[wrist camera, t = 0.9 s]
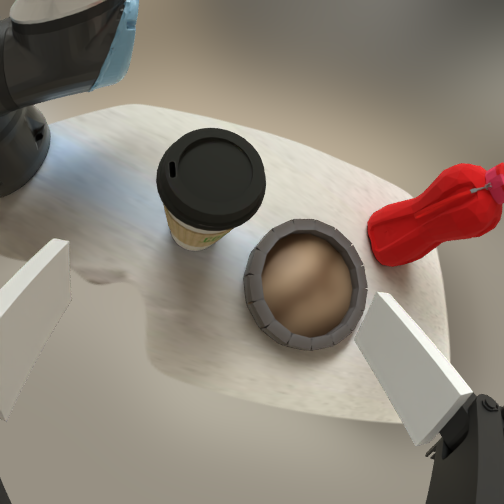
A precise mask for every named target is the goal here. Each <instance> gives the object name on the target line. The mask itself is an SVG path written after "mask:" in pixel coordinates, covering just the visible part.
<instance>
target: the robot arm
mask: <svg viewBox="0 0 504 504" xmlns="http://www.w3.org/2000/svg"><path fill="white" fill-rule="evenodd" d="M138 6H139V0H16V1H15V2H14V4H13V5H12V7H11V9H10V17H9V18H6V19H4V20H0V197H2V196H5V195H8V194H10V193H12V192H14V191H16V190H17V189H19V188H20V187H22V186H23V185H24V184H25V183H26V182H27V181H29V180H30V178H31V177H32V176H33V175H34V174H35V173H36V172H37V170H38V169H39V167H40V166H41V164H42V163H43V161H44V159H45V157H46V154H47V152H48V148H49V144H50V130H49V127H48V124H47V122H46V119H45V117H44V116H43V114H42V113H41V112H40V111H39V110H38V109H37V108H36V107H35V106H34V104H37V103H41V102H45V101H48V100H52V99H56V98H60V97H64V96H68V95H73V94H77V93H82V92H90V91H93V90H95V89H97V88H100V87H105V86H109V85H113V84H116V83H117V82H119V81H120V80H122V79H123V78H124V76H125V75H126V73H127V71H128V68H129V65H130V60H131V56H132V51H133V45H134V39H135V31H136V29H135V25H136V20H137V16H138ZM70 302H71V283H70V241H66V240H61V239H56V238H53V239H52V240H51V241H49V242H48V243H47V244H46V245H45V246H44V247H43V248H42V249H41V250H40V251H38V252H37V253H36V254H35V255H34V256H33V257H32V258H31V259H30V260H29V261H28V262H27V263H26V264H25V265H24V266H23V267H22V268H21V269H20V270H19V271H18V272H17V273H16V274H15V275H14V276H13V277H12V278H11V279H10V280H9V281H8V282H7V283H6V284H5V285H4V286H3V287H2V288H1V289H0V419H1V420H4V421H6V422H7V420H8V418H9V416H10V413H11V411H12V409H13V407H14V404H15V402H16V400H17V398H18V396H19V394H20V392H21V390H22V388H23V386H24V383H25V382H26V380H27V378H28V376H29V374H30V372H31V370H32V368H33V366H34V364H35V362H36V360H37V359H38V357H39V355H40V353H41V351H42V349H43V348H44V346H45V344H46V342H47V341H48V339H49V337H50V335H51V334H52V332H53V330H54V328H55V327H56V325H57V323H58V322H59V320H60V319H61V317H62V315H63V313H64V312H65V310H66V309H67V307H68V306H69V304H70ZM354 341H355V342H356V344H357V345H358V347H359V349H360V350H361V352H362V354H363V355H364V357H365V359H366V360H367V362H368V364H369V365H370V367H371V369H372V371H373V372H374V374H375V376H376V377H377V379H378V381H379V382H380V384H381V386H382V388H383V389H384V391H385V393H386V394H387V396H388V398H389V400H390V401H391V403H392V405H393V407H394V408H395V410H396V412H397V414H398V416H399V417H400V419H401V421H402V423H403V424H404V426H405V428H406V430H407V432H408V433H409V435H410V437H411V439H412V440H413V442H414V444H415V446H420V445H423V444H426V443H429V442H430V441H431V440H432V439H433V438H434V437H435V436H436V435H437V434H438V433H440V434H441V436H442V438H441V439H440V440H439V441H438V442H437V443H436V444H435V445H434V446H433V447H432V448H431V449H430V450H429V451H428V452H427V453H426V455H425V456H426V457H428V456H429V455H430V454H431V453H432V452H436V453H435V454H434V455H432V457H431V459H434V465H433V471H432V477H431V481H430V486H429V491H428V496H427V500H426V504H504V406H503V407H501V406H499V405H498V404H497V403H496V402H495V401H494V400H493V399H492V398H491V397H489V396H488V395H484V394H480V395H478V396H476V395H475V394H474V393H473V391H472V390H471V389H470V388H469V386H468V385H467V384H466V382H465V381H464V380H463V379H462V377H461V376H460V375H459V374H458V373H457V371H456V370H455V369H454V367H453V366H452V365H451V364H450V362H449V361H448V360H447V359H446V358H445V356H444V355H443V354H442V353H441V352H440V350H439V349H438V348H437V347H436V346H435V345H434V343H433V342H432V341H431V340H430V339H429V337H428V336H427V335H426V334H425V333H424V332H423V331H422V329H421V328H420V327H419V326H418V325H417V324H416V323H415V321H414V320H413V319H412V318H411V317H410V316H409V315H408V314H407V312H406V311H405V310H404V309H403V308H402V307H401V306H400V305H399V304H398V302H397V301H396V300H395V299H394V298H393V297H392V296H391V295H390V294H389V293H383V292H376V294H375V297H374V299H373V301H372V303H371V305H370V307H369V310H368V312H367V314H366V316H365V318H364V320H363V322H362V324H361V326H360V328H359V330H358V332H357V334H356V336H355V338H354ZM0 504H11V501H10V499H9V497H8V495H7V493H6V490H5V488H4V486H3V484H2V481H1V479H0Z"/></svg>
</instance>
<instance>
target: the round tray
mask: <svg viewBox="0 0 504 504" xmlns="http://www.w3.org/2000/svg"><path fill="white" fill-rule="evenodd" d="M351 244H352V243H351V242H350V241H349V240H348V239H347V238H346V237H345V236H344V235H343V234H342V233H341V232H339V231H338V230H337V229H335V228H334V227H332V226H330V225H327V224H325V223H323V222H320V221H318V220H315V221H314V219H293V220H290V221H287V222H285V223H283V224H281V225H279V226H277V227H275V228H273V229H272V230H270V231H269V232H268V233H267V234H266V235H265V236H264V237H263V238H262V240H261V241H260V242H259V243H258V244H257V246H256V247H255V248H254V249H253V250H252V252H251V254H250V256H249V259H248V263H247V266H246V270H245V273H244V277H245V278H244V288H245V297H246V303H248V305H247V306H248V308H249V310H250V312H251V314H252V316H253V317H254V319H255V321H256V323H257V325H258V327H261V328H260V329H261V330H262V331H264V332H265V333H266V334H267V335H269V336H270V337H271V338H272V339H274V340H275V341H276V342H277V343H279V344H281V345H285V346H288V347H292V348H296V349H300V350H317V349H322V348H326V347H331V346H333V345H336V344H337V343H339V342H340V341H341V340H343V339H344V338H345V337H347V336H348V335H349V334H351V333H352V332H351V331H353V330H354V329H355V327H356V325H357V323H358V322H359V320H360V318H361V316H362V315H363V312H362V311H364V309H365V303H366V297H367V290H368V289H365V288H368V287H367V281H366V275H365V269H364V266H362V265H363V263H362V261H361V259H360V257H359V255H358V253H357V251H356V249H355V247H354V246H353V245H352V246H351Z"/></svg>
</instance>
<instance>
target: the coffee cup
mask: <svg viewBox="0 0 504 504" xmlns="http://www.w3.org/2000/svg"><path fill="white" fill-rule="evenodd" d="M156 183H157V189H158V193H159V195H160V198H161V200H162V202H163V205H164V209H165V213H166V218H167V222H168V226H169V228H170V230H171V234H172V237H173V239H174V240H175V242H176V243H177V244H178V245H179V246H181V247H182V248H184V249H187V250H191V251H200V250H203V249H206V248H208V247H209V246H211V245H212V244H214V243H215V242H217V241H218V240H220V239H221V238H222V237H223V236H225V235H226V234H227V233H228V232H230V231H231V230H232V229H233V228H235V227H238V226H240V225H242V224H243V223H245V222H246V221H248V220H249V219H250V218H251V217H252V216H253V215H254V214H255V213H256V212H257V210H258V209H259V207H260V206H261V204H262V201H263V198H264V195H265V189H266V178H265V172H264V166H263V163H262V160H261V158H260V156H259V154H258V152H257V151H256V150H255V149H254V147H253V146H252V145H251V144H250V143H249V142H248V141H246V140H245V139H244V138H242V137H241V136H239V135H237V134H235V133H233V132H230V131H228V130H223V129H218V128H203V129H198V130H194V131H192V132H189V133H187V134H185V135H184V136H182V137H181V138H180V139H178V140H177V141H176V142H175V143H173V144H172V145H171V146H170V147H169V149H168V150H167V151H166V152H165V154H164V155H163V157H162V159H161V161H160V163H159V167H158V170H157V178H156Z"/></svg>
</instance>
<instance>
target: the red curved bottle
mask: <svg viewBox="0 0 504 504" xmlns="http://www.w3.org/2000/svg"><path fill="white" fill-rule="evenodd" d="M503 203H504V163H501V164H499V165H497V166H495V167H493V168H491V169H490V170H488V171H486V170H485V169H483V168H482V167H481V166H475V165H471V164H462V163H461V164H458V165H454V166H452V167H450V168H448V169H446V170H444V171H443V172H442V173H441V174H440V175H439V176H438V177H437V178H436V179H435V180H434V182H433V183H432V184H431V185H430V186H429V187H428V188H427V189H426V190H425V191H424V192H423V193H422V194H421V195H419V196H418V197H416V198H413V199H409V200H405V201H401V202H397V203H393V204H390V205H387V206H385V207H383V208H381V209H380V210H378V211H376V212H374V213H373V214H372V216H371V217H370V219H369V221H368V222H367V223H368V235H369V238H370V240H371V246H372V251H373V253H374V255H375V257H376V259H377V260H378V261H379V262H380V263H381V264H382V265H386V266H391V267H394V266H399V265H404V264H407V263H411V262H413V261H416V260H418V259H421V258H422V257H424V256H425V255H426V254H428V253H429V252H430V251H432V250H433V249H434V248H436V247H437V246H438V245H440V244H441V243H443V242H445V241H451V240H459V239H468V238H472V237H480V236H482V235H484V234H485V233H487V232H489V231H490V230H492V229H494V228H495V227H496V225H497V224H498V222H499V221H500V218H501V214H502V204H503Z"/></svg>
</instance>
